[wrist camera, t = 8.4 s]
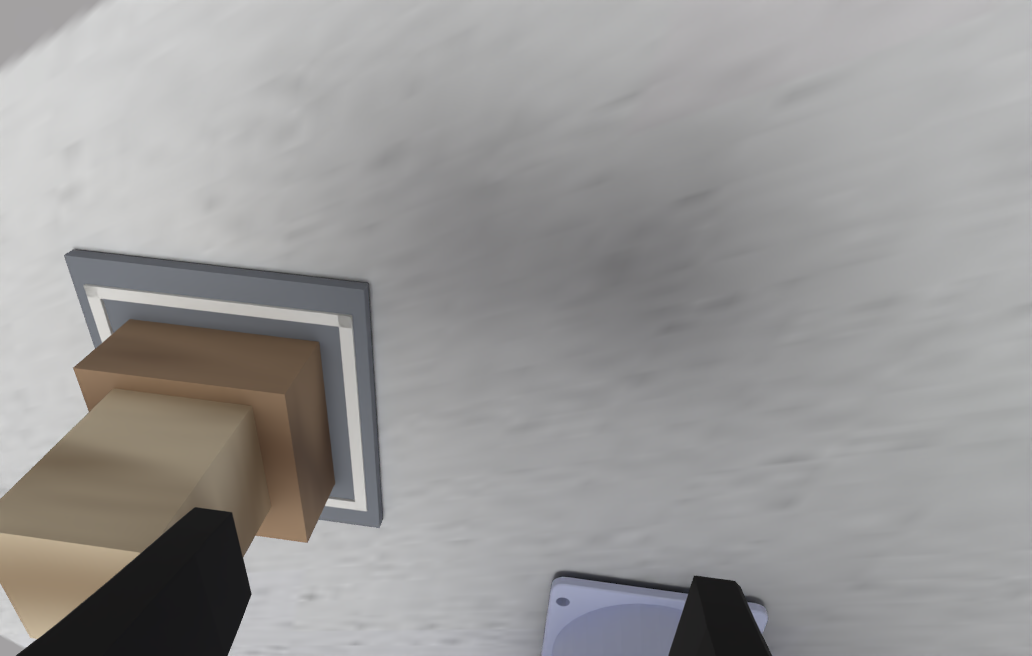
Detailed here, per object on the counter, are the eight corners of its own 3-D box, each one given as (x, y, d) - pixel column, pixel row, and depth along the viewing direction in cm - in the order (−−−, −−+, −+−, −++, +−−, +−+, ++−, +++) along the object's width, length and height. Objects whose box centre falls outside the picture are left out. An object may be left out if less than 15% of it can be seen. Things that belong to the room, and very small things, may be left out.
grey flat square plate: (382, 519, 25) (378, 530, 24) (149, 487, 25) (142, 497, 25) (368, 283, 19) (362, 291, 19) (73, 249, 20) (61, 256, 20)
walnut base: (335, 483, 23) (307, 542, 21) (171, 461, 24) (127, 517, 22) (319, 341, 20) (284, 394, 18) (129, 319, 21) (73, 367, 18)
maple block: (271, 507, 21) (185, 661, 16) (146, 490, 21) (30, 637, 17) (252, 406, 18) (147, 553, 14) (113, 388, 19) (-30, 528, 14)
